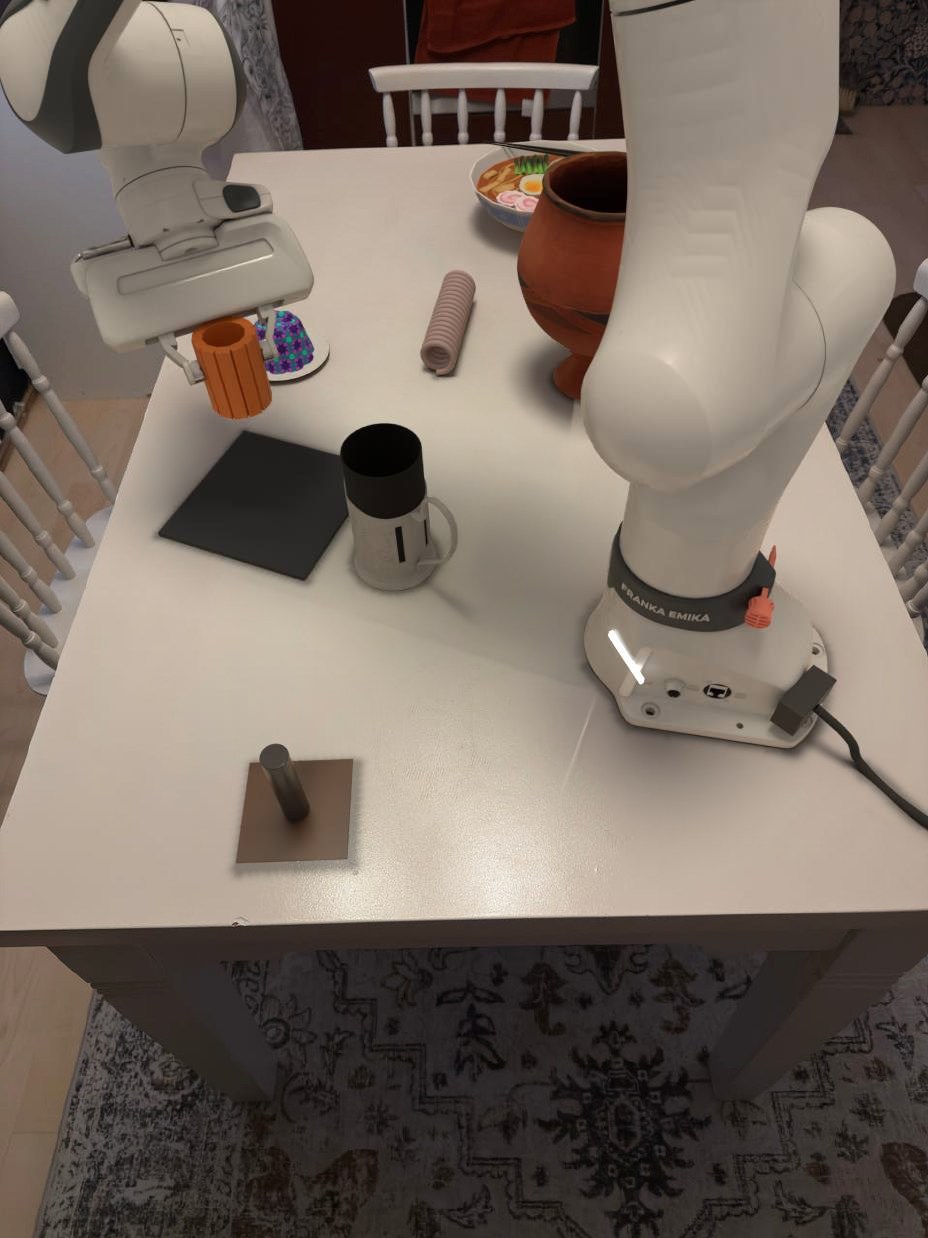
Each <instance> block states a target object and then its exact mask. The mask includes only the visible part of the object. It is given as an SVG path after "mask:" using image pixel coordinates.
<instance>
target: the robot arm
mask: <svg viewBox="0 0 928 1238" xmlns="http://www.w3.org/2000/svg"><path fill="white" fill-rule="evenodd" d="M608 4H609V5H608V6H609V11H610V12H611V13H610V19H611V27H612V35H613V43H614V52H615V60H616V68H617V69H616V70H617V77H618V85H619V93H620V103H621V109H622V110H621V111H622V121H623V130H624V131H623V132H624V140H625V152H627V172H628V181H627V208H626V220H625V229H624V238H623V246H622V253H621V260H620V267H619V273H618V279H617V285H616V290H615V295H614V300H613V304H612V309H611V313H610V316H609V320H608V323H607V326H606V330H605V333H604V335H603V338H602V340H601V343H600V345H599V348H598V350H597V352H596V354H595V356H594V358H593V360H592V362H591V364H590V366H589V368H588V370H587V372H586V374H585V377H584V380H583V383H582V388H581V401H580V410H581V416H582V421H583V425H584V429H585V431H586V434H587V436H588V438H589V441H590V444H591V445H592V447H593V449H594V450H595V452H596V453H597V454H598V456H599V457H600V459H601V460H602V461H603V462H604V464H606V466H608V468H609V469H611V470H612V471H613V472H614V473H615V474H617V475H618V476H619V477H621V478H622V479H624V480H625V481H627V482H629V485H628V491H627V495H626V501H625V507H624V512H623V518H622V520H621V521H620V523H619V526H618V527H617V531H616V533H615V534H614V536H613V538H612V542H611V546H610V551H609V556H608V563H607V568H606V573H607V580H606V588H605V590H604V593H603V595H602V598H601V599H600V601H599V603H598V605H597V606H596V608H595V609H594V610H593V611H592V613H591V614H590V616H589V618H588V620H587V622H586V625H585V628H584V634H583V645H584V652H585V656H586V659H587V661H588V664H589V665H590V668H591V669H592V670H593V672H594V673H595V675H596V676H597V678H598V679H599V680H600V681H601V682H602V683H603V685H605V686H606V687H607V688H608V690H609V691H610V692H611V693H612V695H613V697H614V698H615V701H616V703H617V706H618V709H619V711H620V714H621V716H622V718H623V719H624V720H625V721H626V722H627V723H628V724H630V725H632V726H636V727H642V728H649V729H656V730H662V731H669V732H675V733H681V734H689V735H695V736H700V737H708V738H715V739H721V740H727V741H728V740H729V741H736V742H741V743H748V744H753V745H760V746H766V747H773V748H774V747H775V748H782V749H792V748H794V747H796V746H797V745H799V744H800V743H801V742H802V741H804V740H805V738H807V736H808V735H809V734H810V732H811V731H812V729H813V728H814V726H815V724H816V722H817V720H818V718H820V719H821V720H822V721H823V722H825V723H826V724H827V725H828V726H829V727H830V728H831V729H832V730H833V731H835V732H836V733H837V734H838V735H839V736H840V738H841V739H842V740H843V741H844V742H845V743H846V745H847V747H848V751H849V755H850V758H851V760H852V762H853V763H854V764H855V766H856V767H857V768H858V769H859V770H860V771H861V773H862V774H863V775H864V776H865V777H866V779H868V781H870V782H871V783H872V784H873V785H875V787H877V788H878V790H880V791H881V792H882V793H883V794H884V795H885V796H887V798H888V799H889V800H891V801H892V802H893V803H894V804H895V805H896V806H898V807H899V808H900V809H901V810H903V811H904V812H906V813H907V814H908V815H909V816H911V817H912V818H913V819H915V820H916V821H918V822H919V823H921V824H922V825H924V826H925V827H926V828H928V815H927V814H926V813H924V812H923V811H921V810H920V809H919V808H917V807H916V806H914V805H913V804H912V803H910V802H909V801H908V800H906V799H905V798H904V797H902V795H900V794H898V792H896V791H895V790H894V789H893V788H892V787H890V786H889V785H888V784H887V783H886V782H885V781H884V780H883V779H882V778H881V777H880V776H879V775H878V774H877V773H876V772H875V771H874V770H873V768H871V767H870V766H869V764H868V763H867V762H866V760H865V759H864V758H863V756H862V754H861V750H860V746H859V743H858V742H857V740H856V739H855V737H854V736H853V735H852V733H851V731H849V730H848V728H846V727H845V726H844V725H843V723H841V722H840V721H839V720H838V719H837V718H836V717H834V715H832V714H831V712H829V711H827V710H826V709H825V708H824V707H823V703H824V702H825V701H826V699H827V697H828V696H829V694H830V693H831V691H832V689H833V688H834V687H835V684H836V683H837V679H836V678H835V677H833V676H832V675H830V674H829V673H828V671H829V670H828V656H827V652H826V648H825V645H824V642H823V640H822V638H821V635H820V634H819V632H818V630H816V628H815V627H814V626H813V625H812V624H813V623H812V618H811V614H810V611H809V610H808V608H807V606H806V605H805V603H804V602H803V601H802V600H801V599H800V598H798V597H797V596H796V595H794V594H792V593H791V592H790V591H789V590H787V589H786V588H785V587H784V586H783V585H781V584H780V583H779V582H778V581H776V578H777V571H776V569H775V565H776V560H777V546H776V545H775V544H773V545H772V548H771V552H770V553H769V556H768V559H767V557H766V556H765V555H764V554H763V552H762V551H761V548H762V545H763V543H764V540H765V537H766V535H767V532H768V529H769V528H770V524H771V522H772V520H773V517H774V516H775V512H776V510H777V508H778V505H779V503H780V501H781V499H782V496H783V495H784V493H785V491H786V489H787V487H788V485H789V484H790V482H791V481H792V479H793V477H794V476H795V474H796V472H797V471H798V469H799V467H800V465H802V462H803V461H804V460H805V457H806V455H807V453H808V452H809V450H810V448H811V447H812V445H813V444H814V442H815V440H816V438H817V436H818V435H819V433H820V431H821V430H822V428H823V426H824V424H825V422H826V420H827V418H828V417H829V415H830V413H831V411H832V409H833V407H834V406H835V405H836V403H837V401H838V398H839V396H840V395H841V393H842V391H843V389H844V387H845V385H846V383H847V382H848V380H849V378H850V376H851V374H852V372H853V370H854V368H855V366H856V364H857V363H858V360H859V359H860V357H861V355H862V353H863V351H864V350H865V348H866V346H867V345H868V343H869V341H870V340H871V338H872V336H873V335H874V333H875V332H876V330H877V328H878V326H880V323H881V321H882V319H883V318H884V316H885V314H886V312H887V311H888V309H889V307H890V305H891V303H892V300H893V297H894V294H895V290H896V285H897V284H896V283H897V267H896V260H895V257H894V254H893V251H892V248H891V246H890V244H889V242H888V241H887V239H886V237H885V236H884V234H883V233H882V231H881V230H880V229H879V228H878V227H877V226H876V225H875V224H874V223H873V222H872V221H870V220H869V219H868V218H866V217H865V216H864V215H862V214H860V213H858V212H856V211H853V210H850V209H848V208H847V209H846V208H841V207H836V206H835V207H834V206H824V207H817V208H813V209H809V210H808V207H809V204H810V203H809V202H810V200H811V196H812V193H813V189H814V187H815V184H816V181H817V178H818V175H819V173H820V170H821V168H822V166H823V163H824V161H825V159H826V157H827V155H828V153H829V151H830V149H831V146H832V143H833V141H834V137H835V134H836V129H837V125H838V121H839V112H840V109H839V108H840V103H839V102H840V0H608ZM0 87H1V89H2V92H3V95H4V97H5V100H6V101H7V104H8V106H9V108H10V110H11V111H12V113H13V114H14V116H15V117H16V119H18V121H20V122H21V123H22V124H23V125H24V126H25V127H26V128H27V129H28V130H29V131H30V132H32V133H33V134H34V135H36V136H37V137H38V138H39V139H41V140H42V141H44V142H45V143H46V144H48V145H49V146H51V148H54V149H55V150H57V151H59V152H60V153H61V154H64V155H71V154H78V153H84V152H92V151H93V152H94V154H95V156H96V158H97V159H98V161H99V162H100V164H101V165H102V166H103V168H104V169H105V170H106V173H107V174H108V176H109V179H110V184H111V189H112V190H111V191H112V196H113V200H114V203H115V205H116V208H117V210H118V212H119V215H120V218H121V220H122V223H123V225H124V227H125V229H126V233H127V235H124V236H121V237H116V238H114V239H110V240H107V241H105V242H102V243H100V244H95V245H94V244H90V245H87V246H83V247H82V248H80V249H79V253H77V254H76V255H75V256H73V258H72V260H71V261H70V265H69V273H70V276H71V278H72V282H73V283H74V286H75V289H76V290H77V292H78V293H79V295H80V296H81V297H82V298H84V299H86V300H87V301H89V302H90V306H91V309H92V313H93V316H94V319H95V322H96V325H97V329H98V331H99V334H100V337H101V339H102V341H103V345H104V346H105V347H106V349H108V350H109V351H111V352H113V353H115V354H117V355H122V354H125V353H130V352H133V351H137V350H139V349H143V348H146V347H149V346H153V345H156V344H159V346H160V348H161V350H162V351H161V352H162V353H163V355H164V356H165V357H167V358H168V359H169V360H170V361H172V362H173V363H174V364H175V365H177V366H178V367H179V368H180V369H182V370H183V372H184V375H185V377H186V380H187V383H188V384H189V386H191V387H192V386H193V385H198V384H200V383H204V381H205V376H204V374H203V371H202V370H200V367H201V366H200V364H199V362H198V360H197V359H194V360H191V361H189V359H187V358H186V357H185V356H183V354H182V353H180V352H179V351H178V349H179V347H178V341H177V338H180V337H183V336H187V335H189V334H192V333H193V331H194V330H195V329H196V328H197V327H198V326H199V325H200V324H203V323H204V322H207V321H211V320H214V319H217V318H221V317H224V316H232V317H233V316H238V317H242V318H248V317H251V316H254V315H256V317H257V320H258V319H259V322H260V324H265V323H267V324H266V331H265V339H263V340H260V341H259V344H260V348H261V352H262V356H263V360H264V362H267V361H271V360H274V359H277V358H278V357H279V354H278V350H277V348H276V345H275V343H274V340H273V335H274V328H275V321H276V313H275V311H276V310H275V309H279V308H281V307H284V306H288V305H291V304H295V303H299V302H302V301H305V300H307V299H308V298H309V296H310V295H311V293H312V291H313V288H314V285H315V276H314V273H313V270H312V267H311V265H310V262H309V260H308V257H307V255H306V253H305V251H304V248H303V247H302V245H301V243H300V241H299V239H298V237H297V236H296V233H295V232H294V230H293V228H292V227H291V226H290V224H289V223H288V222H287V220H286V219H284V218H283V217H282V216H280V215H279V214H276V213H274V201H273V197H272V194H271V191H270V190H269V188H268V187H267V186H265V185H263V184H259V183H247V182H233V181H224V180H217V179H212V178H211V175H210V173H209V171H208V170H207V168H206V167H205V165H204V162H203V156H202V155H203V152H204V150H205V149H206V148H208V147H209V148H211V147H213V146H216V145H217V144H218V143H219V142H220V141H222V140H223V139H225V137H226V136H228V134H229V133H230V132H231V131H232V129H234V127H235V125H237V122H238V121H239V119H240V117H241V115H242V114H243V113H242V112H243V110H244V107H245V105H246V103H247V96H248V88H247V78H246V75H245V69H244V66H243V63H242V60H241V56H240V54H239V51H238V49H237V47H236V44H235V43H234V41H233V38H232V37H231V35H230V33H229V30H227V28H226V27H225V25H224V23H222V22H221V20H220V19H219V18H218V16H216V15H215V13H213V12H212V11H211V9H208V7H205V6H198V5H194V4H190V3H182V2H181V3H180V2H167V1H151V0H150V1H149V0H11V1H10V2H9V3H8V5H7V6H6V8H5V10H4V12H3V14H2V15H1V17H0ZM81 259H82V260H81ZM647 712H650V713H652V714H653V715H651V714H648V713H647Z"/></svg>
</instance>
